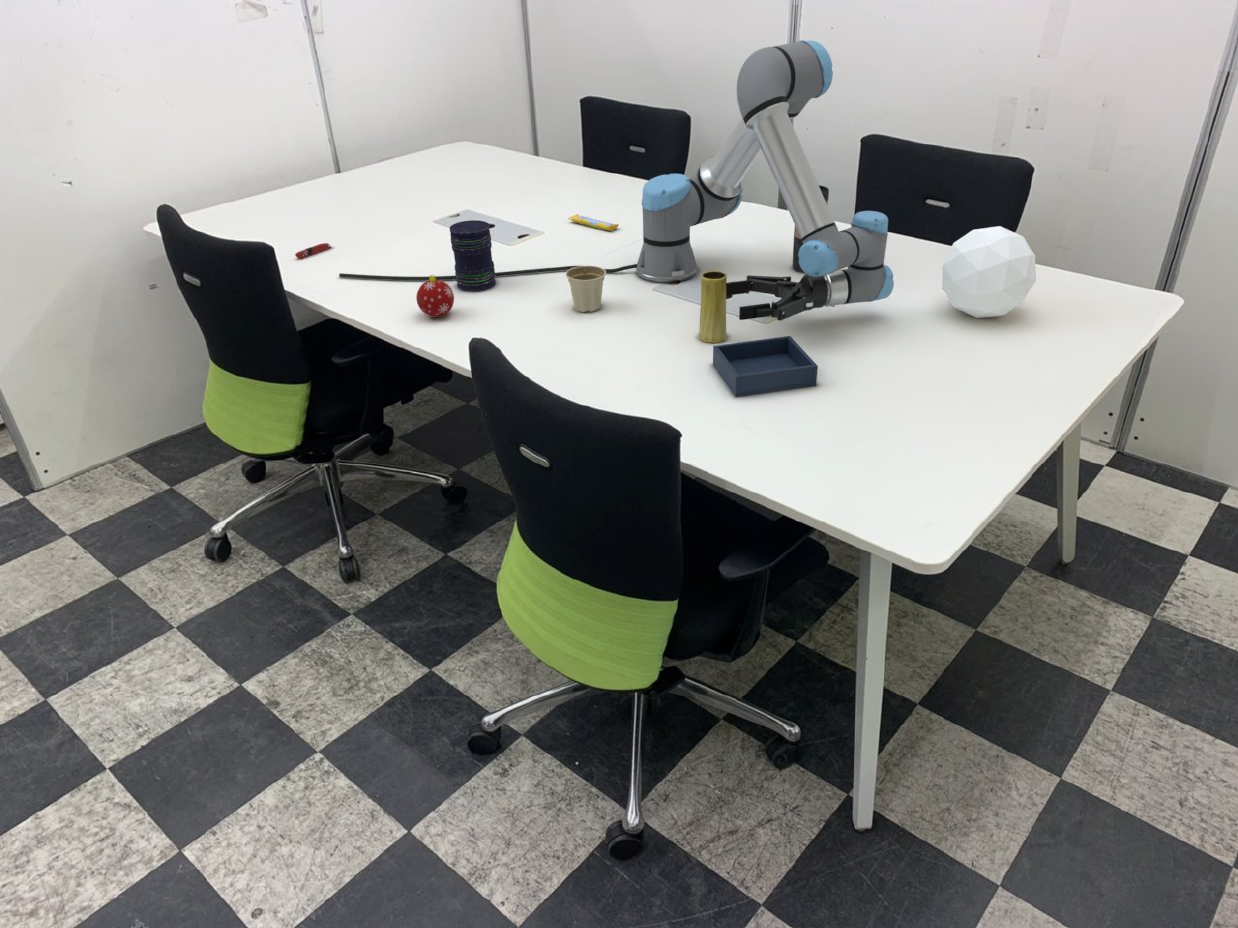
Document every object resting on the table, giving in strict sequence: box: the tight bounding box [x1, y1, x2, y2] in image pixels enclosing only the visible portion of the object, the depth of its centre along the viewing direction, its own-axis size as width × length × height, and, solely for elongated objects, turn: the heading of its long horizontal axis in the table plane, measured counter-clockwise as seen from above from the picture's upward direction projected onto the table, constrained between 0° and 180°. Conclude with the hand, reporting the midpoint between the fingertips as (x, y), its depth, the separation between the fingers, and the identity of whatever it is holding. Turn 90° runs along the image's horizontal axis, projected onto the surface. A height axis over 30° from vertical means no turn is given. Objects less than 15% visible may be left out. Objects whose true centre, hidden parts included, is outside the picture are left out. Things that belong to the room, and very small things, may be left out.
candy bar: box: [568, 214, 620, 232], centre depth 270 cm, size 17×4×2 cm, turn 49°
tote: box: [712, 335, 819, 398], centre depth 186 cm, size 17×15×4 cm
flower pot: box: [565, 265, 607, 313], centre depth 217 cm, size 9×9×9 cm
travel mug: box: [792, 184, 830, 274], centre depth 230 cm, size 8×8×20 cm
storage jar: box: [449, 219, 497, 293], centre depth 231 cm, size 10×10×15 cm
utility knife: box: [294, 242, 332, 260], centre depth 259 cm, size 12×1×2 cm, turn 143°
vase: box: [698, 270, 728, 344], centre depth 199 cm, size 6×6×14 cm
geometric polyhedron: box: [941, 225, 1037, 319], centre depth 204 cm, size 19×20×20 cm
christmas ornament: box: [416, 274, 455, 318], centre depth 216 cm, size 9×9×10 cm
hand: (729, 301), depth 199 cm, fingers open, 13 cm apart
